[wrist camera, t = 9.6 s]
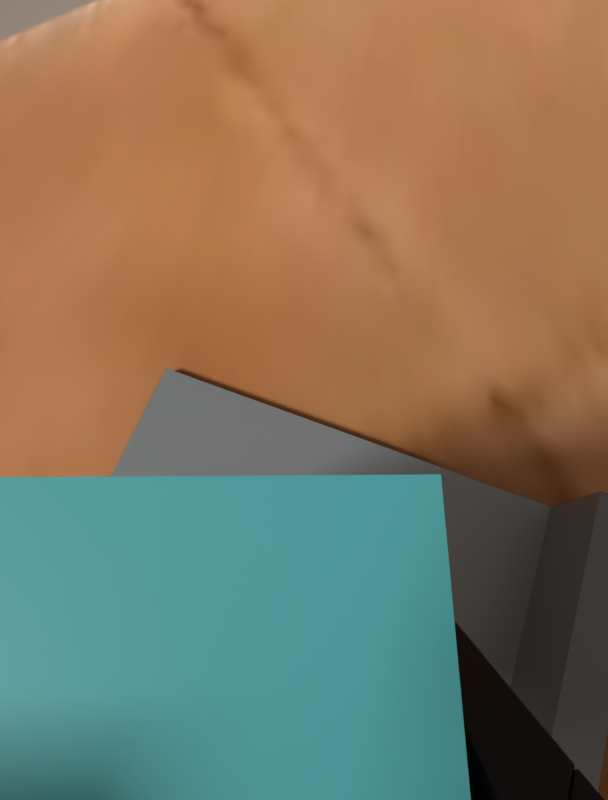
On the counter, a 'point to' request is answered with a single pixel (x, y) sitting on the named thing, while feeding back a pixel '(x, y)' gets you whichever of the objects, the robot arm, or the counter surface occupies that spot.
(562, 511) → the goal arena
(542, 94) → the counter surface
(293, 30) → the counter surface
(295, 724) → the white teal-lidded canister
